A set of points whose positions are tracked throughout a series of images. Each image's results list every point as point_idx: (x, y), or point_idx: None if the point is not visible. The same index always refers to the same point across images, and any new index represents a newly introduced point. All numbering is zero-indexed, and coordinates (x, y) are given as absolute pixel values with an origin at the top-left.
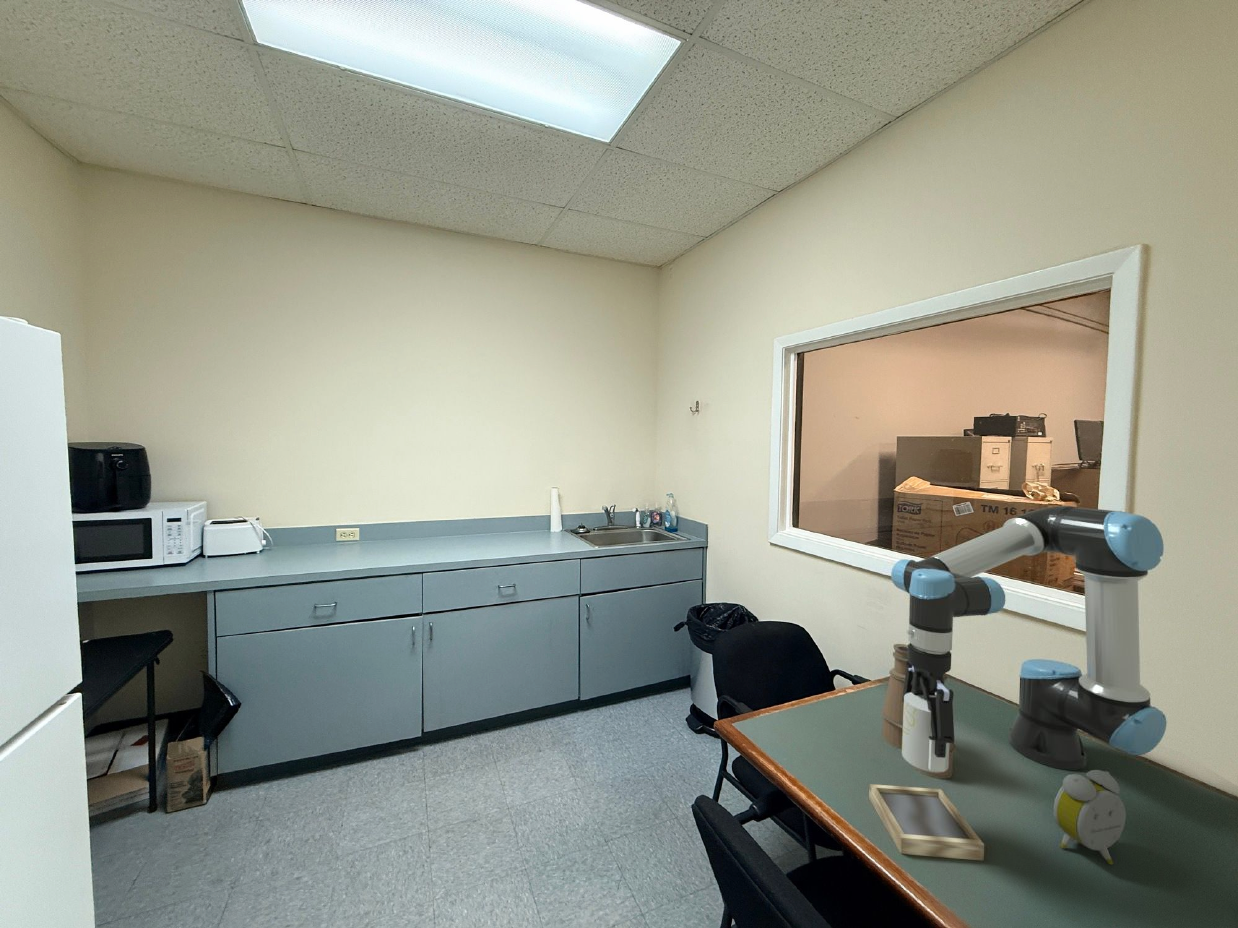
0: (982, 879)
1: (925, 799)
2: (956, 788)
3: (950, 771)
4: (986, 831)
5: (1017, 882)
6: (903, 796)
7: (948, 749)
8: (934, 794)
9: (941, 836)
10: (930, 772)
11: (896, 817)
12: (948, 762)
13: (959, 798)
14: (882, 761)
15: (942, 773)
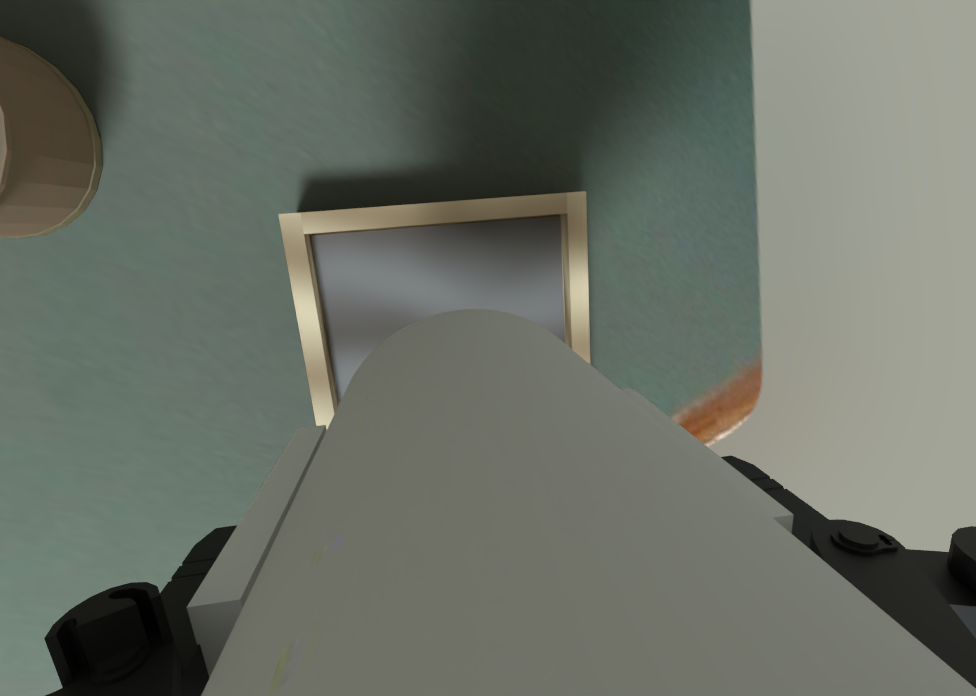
0: (641, 238)
1: (344, 296)
2: (160, 90)
3: (40, 64)
4: (423, 103)
5: (641, 130)
6: (348, 376)
7: (602, 375)
8: (309, 250)
9: (541, 316)
10: (86, 175)
11: None
12: (546, 331)
13: (236, 113)
14: (57, 359)
15: (78, 119)
